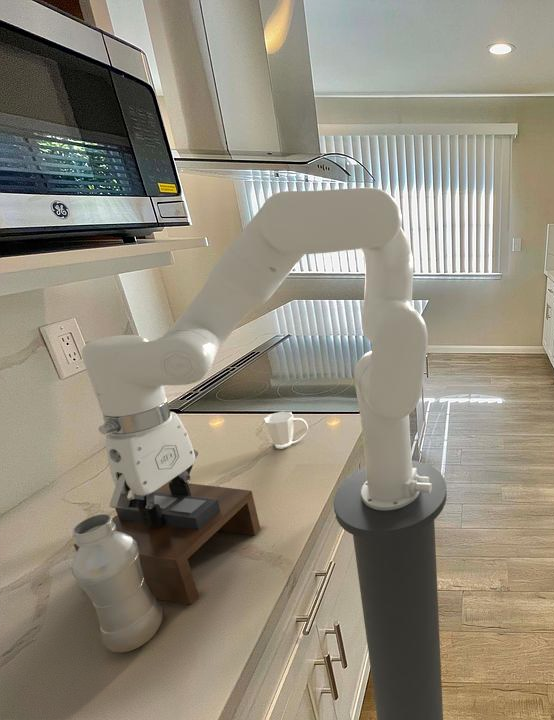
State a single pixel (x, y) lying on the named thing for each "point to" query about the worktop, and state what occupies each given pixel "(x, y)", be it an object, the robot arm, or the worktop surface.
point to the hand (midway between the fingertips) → (169, 512)
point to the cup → (282, 428)
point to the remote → (177, 510)
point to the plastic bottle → (115, 584)
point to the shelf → (186, 541)
